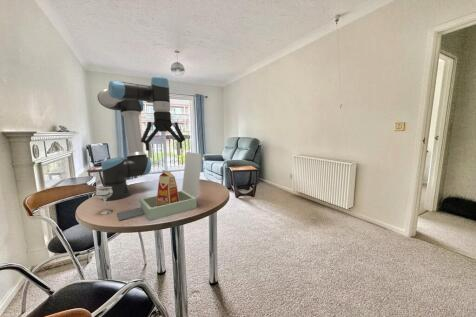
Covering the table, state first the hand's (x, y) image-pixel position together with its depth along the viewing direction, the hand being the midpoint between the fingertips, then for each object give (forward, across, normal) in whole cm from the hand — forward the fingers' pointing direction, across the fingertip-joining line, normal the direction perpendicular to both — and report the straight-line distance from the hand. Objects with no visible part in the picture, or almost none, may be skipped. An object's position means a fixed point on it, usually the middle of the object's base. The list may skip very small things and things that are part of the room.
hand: (165, 156), depth 96 cm
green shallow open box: (+26, 0, 0) cm, 26 cm away
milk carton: (+27, 0, 0) cm, 27 cm away
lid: (+10, +13, 0) cm, 16 cm away
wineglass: (+26, -25, +15) cm, 39 cm away
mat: (+26, -16, +4) cm, 31 cm away
